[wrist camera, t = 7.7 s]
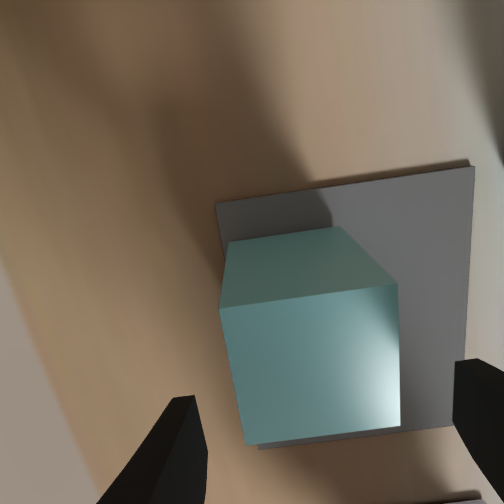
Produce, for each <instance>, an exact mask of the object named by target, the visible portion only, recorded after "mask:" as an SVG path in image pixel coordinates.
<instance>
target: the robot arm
mask: <svg viewBox="0 0 504 504" xmlns="http://www.w3.org/2000/svg"><path fill="white" fill-rule="evenodd" d="M452 422H453V424H454V425H455V427H456V429H457V431H458V433H459V435H460V437H461V438H462V440H463V442H464V444H465V446H466V447H467V449H468V451H469V453H470V454H471V456H472V458H473V460H474V461H475V462H476V464H477V465H478V467H479V468H480V470H481V471H482V473H483V474H484V475H485V477H486V478H487V480H488V481H489V483H490V484H491V485H492V487H493V488H494V490H495V491H496V493H497V494H498V495H499V497H500V498H501V500H502V501H503V502H504V372H503V371H501V370H500V369H498V368H496V367H494V366H492V365H490V364H488V363H486V362H484V361H482V360H480V359H478V358H476V359H469V360H461V361H455V366H454V389H453V411H452ZM207 461H208V450H207V445H206V441H205V437H204V433H203V428H202V424H201V420H200V416H199V412H198V407H197V403H196V399H195V395H191V396H183V397H175V398H173V399H172V400H171V401H170V402H169V404H168V405H167V407H166V408H165V410H164V411H163V413H162V414H161V416H160V417H159V419H158V420H157V422H156V423H155V425H154V426H153V428H152V429H151V431H150V432H149V434H148V435H147V437H146V438H145V439H144V441H143V442H142V444H141V445H140V447H139V448H138V449H137V451H136V452H135V454H134V455H133V456H132V458H131V459H130V460H129V462H128V463H127V465H126V466H125V467H124V469H123V470H122V471H121V473H120V474H119V475H118V477H117V478H116V479H115V480H114V482H113V483H112V484H111V486H110V487H109V488H108V489H107V491H106V492H105V493H104V494H103V496H102V497H101V498H100V500H99V501H98V502H97V503H96V504H204V501H205V494H206V481H207ZM445 504H487V503H486V502H485V501H484V500H470V501H462V502H454V503H445Z"/></svg>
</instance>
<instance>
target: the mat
mask: <svg viewBox="0 0 504 504" xmlns="http://www.w3.org/2000/svg"><path fill="white" fill-rule="evenodd" d="M474 181H475V166H465V167H459V168H452V169H445V170H438V171H431V172H424V173H417V174H411V175H404V176H397V177H390V178H383V179H376V180H369V181H363V182H356V183H349V184H342V185H335V186H328V187H322V188H315V189H308V190H301V191H294V192H287V193H280V194H274V195H267V196H260V197H253V198H246V199H239V200H232V201H226V202H219V203H215V209H216V214H217V220H218V226H219V231H220V237H221V242H222V248H223V254H224V259H225V263H226V256H227V250H228V243H229V242H233V241H240V240H247V239H254V238H261V237H267V236H274V235H281V234H288V233H295V232H302V231H308V230H315V229H322V228H329V227H336V226H340V227H341V228H342V229H343V230H345V231H346V232H347V233H348V234H349V235H350V236H351V237H352V238H353V239H354V240H355V241H356V242H357V243H358V244H359V245H360V246H361V247H362V248H363V249H364V250H365V251H366V252H367V253H368V254H369V255H370V256H371V257H372V258H373V259H374V260H375V261H376V262H377V263H378V264H379V265H380V266H381V267H382V268H383V269H384V270H385V271H386V272H387V273H388V274H389V275H390V276H391V277H392V278H393V279H394V280H395V281H396V282H397V283H398V308H399V370H400V426H394V427H387V428H379V429H371V430H363V431H356V432H348V433H340V434H332V435H325V436H317V437H309V438H301V439H293V440H286V441H278V442H270V443H262V444H258V449H259V450H262V449H270V448H278V447H286V446H294V445H302V444H310V443H318V442H326V441H334V440H342V439H350V438H358V437H366V436H374V435H382V434H390V433H398V432H406V431H414V430H422V429H430V428H438V427H446V426H454V424H453V422H452V411H453V389H454V366H455V361H461V360H464V355H465V338H466V320H467V303H468V285H469V268H470V251H471V233H472V216H473V198H474Z"/></svg>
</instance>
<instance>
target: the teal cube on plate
mask: <svg viewBox="0 0 504 504" xmlns="http://www.w3.org/2000/svg"><path fill="white" fill-rule="evenodd" d="M219 314H220V319H221V324H222V329H223V334H224V339H225V344H226V349H227V354H228V359H229V364H230V369H231V374H232V379H233V384H234V389H235V394H236V400H237V405H238V410H239V415H240V420H241V425H242V430H243V435H244V440H245V445H246V446H247V445H255V444H262V443H270V442H278V441H286V440H293V439H301V438H309V437H317V436H325V435H332V434H340V433H348V432H356V431H363V430H371V429H379V428H387V427H394V426H400V370H399V308H398V283H397V282H396V281H395V280H394V279H393V278H392V277H391V276H390V275H389V274H388V273H387V272H386V271H385V270H384V269H383V268H382V267H381V266H380V265H379V264H378V263H377V262H376V261H375V260H374V259H373V258H372V257H371V256H370V255H369V254H368V253H367V252H366V251H365V250H364V249H363V248H362V247H361V246H360V245H359V244H358V243H357V242H356V241H355V240H354V239H353V238H352V237H351V236H350V235H349V234H348V233H347V232H346V231H345V230H343V229H342V228H341V227H340V226H336V227H329V228H322V229H315V230H308V231H302V232H295V233H288V234H281V235H274V236H267V237H261V238H254V239H247V240H240V241H233V242H229V243H228V250H227V256H226V263H225V270H224V276H223V283H222V289H221V296H220V302H219Z"/></svg>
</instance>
